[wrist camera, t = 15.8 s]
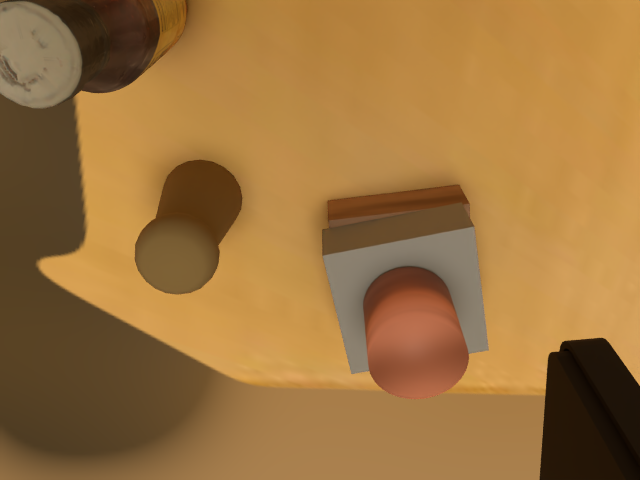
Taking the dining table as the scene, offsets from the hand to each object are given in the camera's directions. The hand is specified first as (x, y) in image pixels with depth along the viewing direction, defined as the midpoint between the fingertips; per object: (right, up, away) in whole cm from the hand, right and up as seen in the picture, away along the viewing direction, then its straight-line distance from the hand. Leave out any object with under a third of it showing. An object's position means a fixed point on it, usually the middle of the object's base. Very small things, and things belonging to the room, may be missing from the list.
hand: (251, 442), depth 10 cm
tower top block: (+7, 0, +36) cm, 37 cm away
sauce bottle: (-10, +19, +31) cm, 38 cm away
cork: (-8, +6, +38) cm, 39 cm away
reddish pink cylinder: (+7, -1, +33) cm, 33 cm away
